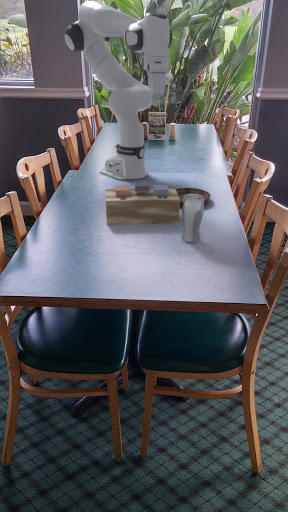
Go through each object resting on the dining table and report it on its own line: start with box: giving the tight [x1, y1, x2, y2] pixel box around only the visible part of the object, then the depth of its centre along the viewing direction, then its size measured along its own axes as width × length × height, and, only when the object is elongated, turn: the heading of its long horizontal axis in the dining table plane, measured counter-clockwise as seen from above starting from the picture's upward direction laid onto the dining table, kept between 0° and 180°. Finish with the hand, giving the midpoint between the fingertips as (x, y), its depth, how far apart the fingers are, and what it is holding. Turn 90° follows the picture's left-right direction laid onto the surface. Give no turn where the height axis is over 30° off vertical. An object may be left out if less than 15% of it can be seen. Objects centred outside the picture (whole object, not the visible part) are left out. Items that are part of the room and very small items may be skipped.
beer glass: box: [181, 194, 205, 244], centre depth 150 cm, size 7×7×15 cm
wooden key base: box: [105, 187, 181, 226], centre depth 167 cm, size 12×26×9 cm, turn 95°
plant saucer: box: [175, 187, 212, 207], centre depth 184 cm, size 18×18×3 cm
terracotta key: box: [114, 185, 131, 196], centre depth 165 cm, size 5×5×2 cm
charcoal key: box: [133, 181, 150, 192], centre depth 165 cm, size 5×5×2 cm
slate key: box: [152, 184, 169, 195], centre depth 166 cm, size 5×5×2 cm
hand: (155, 105), depth 167 cm, fingers closed
